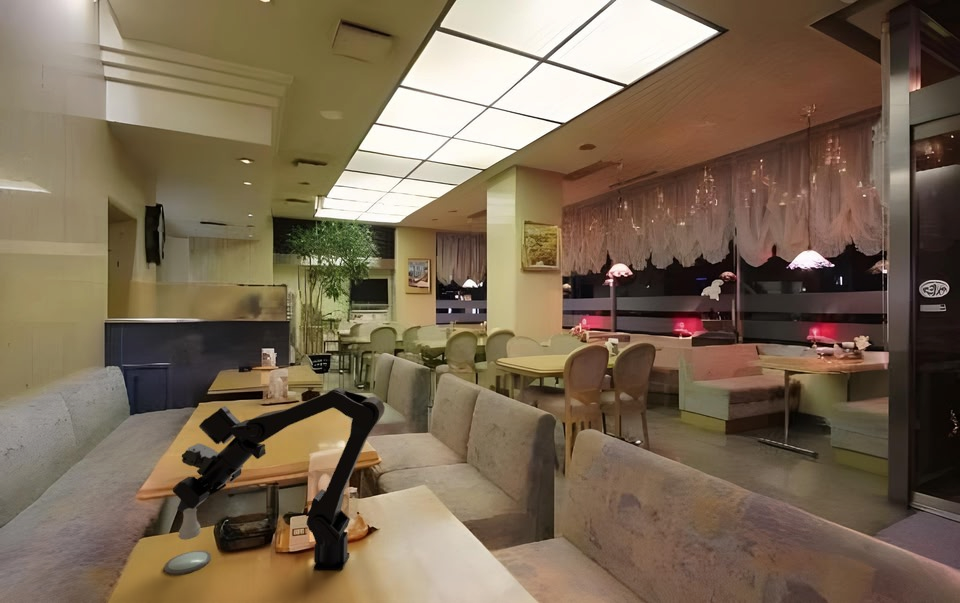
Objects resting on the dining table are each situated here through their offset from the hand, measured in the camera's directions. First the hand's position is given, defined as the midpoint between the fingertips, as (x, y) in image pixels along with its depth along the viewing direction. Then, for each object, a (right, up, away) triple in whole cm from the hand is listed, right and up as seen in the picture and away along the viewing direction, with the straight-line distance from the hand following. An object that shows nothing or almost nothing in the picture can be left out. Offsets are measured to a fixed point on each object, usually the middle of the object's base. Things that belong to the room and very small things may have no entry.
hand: (184, 506), depth 105 cm
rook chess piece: (+1, -7, 0) cm, 7 cm away
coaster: (+1, -13, 0) cm, 13 cm away
